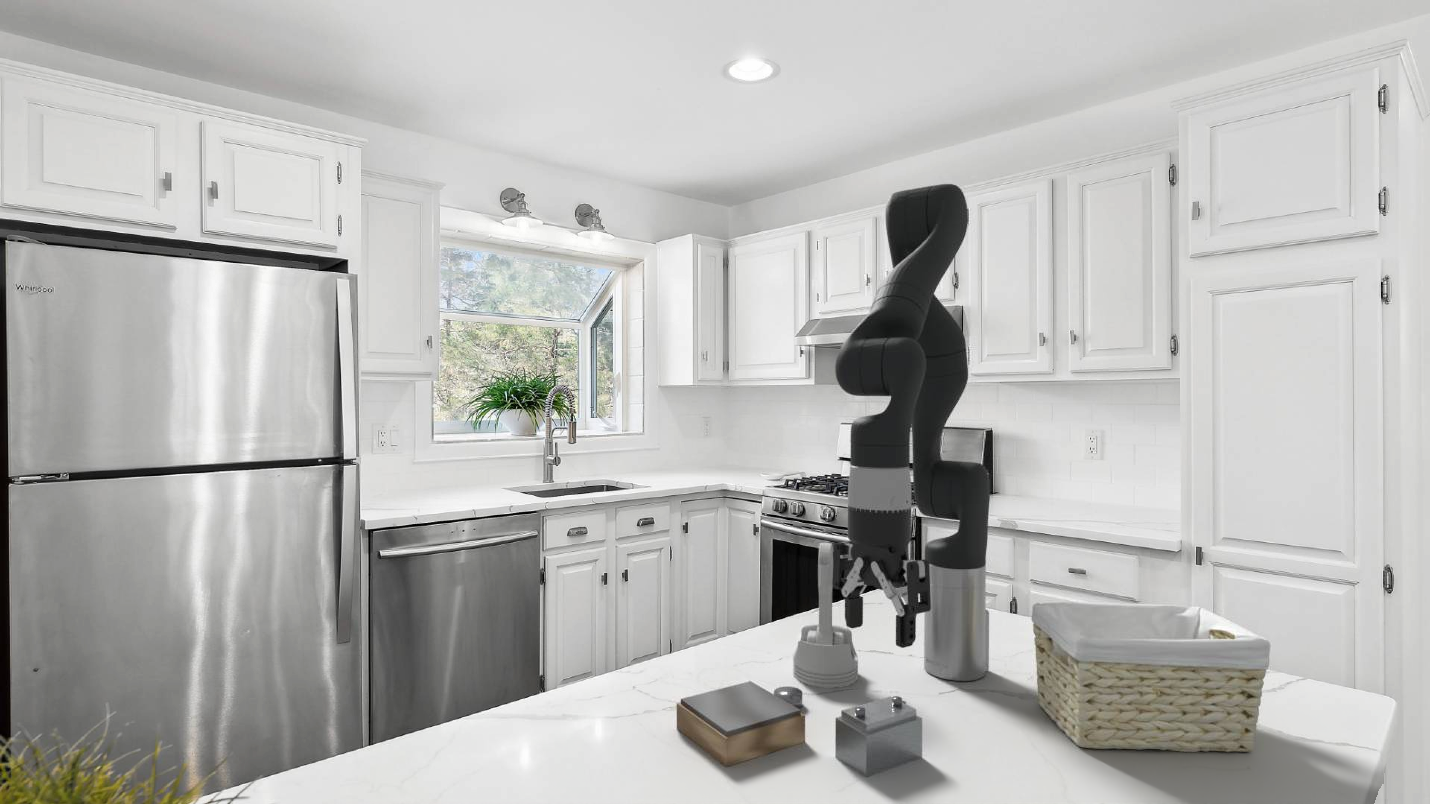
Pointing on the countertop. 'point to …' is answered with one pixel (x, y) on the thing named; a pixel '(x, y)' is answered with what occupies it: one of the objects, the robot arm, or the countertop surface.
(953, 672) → the robot arm
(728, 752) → the stand
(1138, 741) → the storage basket
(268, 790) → the countertop surface
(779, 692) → the dark grey domed cap
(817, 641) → the engine component
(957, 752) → the countertop surface
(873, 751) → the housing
